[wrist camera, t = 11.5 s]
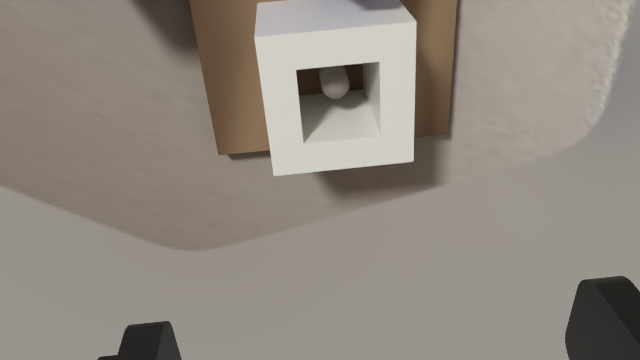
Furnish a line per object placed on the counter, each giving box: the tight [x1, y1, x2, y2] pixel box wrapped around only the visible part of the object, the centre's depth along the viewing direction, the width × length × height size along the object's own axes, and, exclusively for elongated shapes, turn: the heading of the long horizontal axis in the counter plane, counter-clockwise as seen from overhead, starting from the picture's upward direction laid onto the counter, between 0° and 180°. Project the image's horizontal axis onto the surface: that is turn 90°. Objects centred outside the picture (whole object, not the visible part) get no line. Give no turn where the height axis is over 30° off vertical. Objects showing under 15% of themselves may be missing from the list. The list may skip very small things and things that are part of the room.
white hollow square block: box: [254, 0, 417, 176], centre depth 24 cm, size 6×6×5 cm
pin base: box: [189, 0, 457, 155], centre depth 25 cm, size 12×9×5 cm
